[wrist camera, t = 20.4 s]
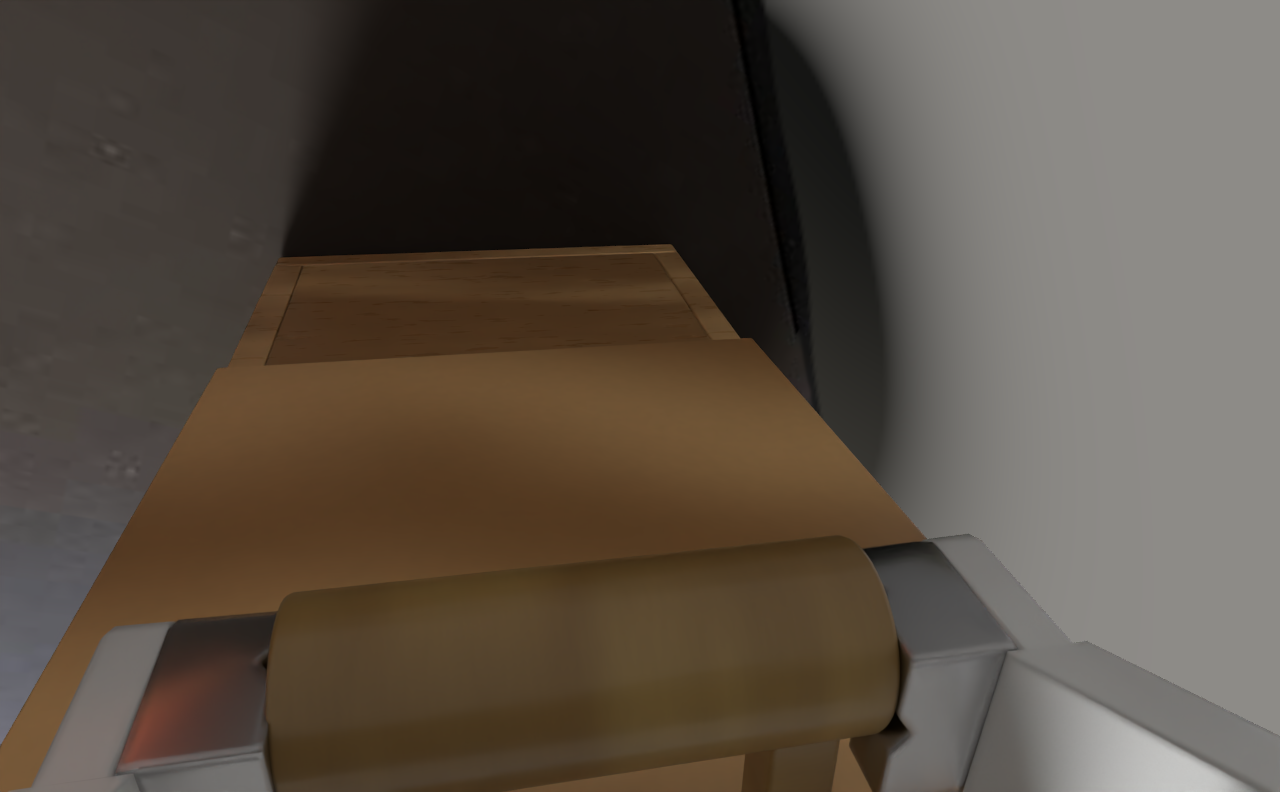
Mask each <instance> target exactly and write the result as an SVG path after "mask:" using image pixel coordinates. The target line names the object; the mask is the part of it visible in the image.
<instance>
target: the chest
mask: <svg viewBox="0 0 1280 792" xmlns="http://www.w3.org/2000/svg"><path fill="white" fill-rule="evenodd" d="M723 339H740V337H739V336H738V334H737V333H736V332H735V330H734V329H733V328H732V326H731V325H730V323H729V322H728V321H727V319H726V318H725V317H724V315H723V314H722V313H721V311H720V310H719V308H718V307H717V306H716V304H715V303H714V302H713V300H712V299H711V298H710V296H709V295H708V293H707V292H706V291H705V289H704V288H703V287H702V285H701V284H700V282H699V281H698V280H697V278H696V277H695V276H694V274H693V273H692V272H691V270H690V269H689V267H688V266H687V265H686V263H685V262H684V261H683V259H682V258H681V256H680V255H679V254H678V253H677V251H676V250H675V248H674V247H673V246H672V245H671V244H662V245H633V246H603V247H574V248H545V249H516V250H486V251H457V252H428V253H398V254H369V255H340V256H311V257H281V258H279V259H278V261H277V264H276V266H275V267H274V269H273V271H272V273H271V275H270V277H269V280H268V282H267V284H266V286H265V288H264V290H263V292H262V295H261V297H260V299H259V301H258V303H257V305H256V307H255V310H254V312H253V314H252V316H251V318H250V320H249V322H248V325H247V327H246V329H245V331H244V333H243V335H242V337H241V339H240V342H239V344H238V346H237V348H236V350H235V352H234V354H233V357H232V359H231V361H230V363H229V365H228V367H227V368H230V367H248V366H265V365H283V364H300V363H318V362H336V361H353V360H371V359H388V358H406V357H424V356H441V355H459V354H476V353H494V352H512V351H529V350H547V349H564V348H582V347H600V346H617V345H635V344H652V343H670V342H688V341H705V340H723Z"/></svg>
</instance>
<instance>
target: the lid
mask: <svg viewBox="0 0 1280 792" xmlns="http://www.w3.org/2000/svg"><path fill="white" fill-rule="evenodd" d="M925 539H927V538H926V537H925V536H924V535H923V534H922V533H921V531H920V530H919V529H918V528H917V527H916V526H915V525H914V523H913V522H912V521H911V520H910V519H909V518H908V517H907V515H906V514H905V513H904V512H903V511H902V510H901V509H900V508H899V506H898V505H897V504H896V503H895V502H894V501H893V499H892V498H891V497H890V496H889V495H888V494H887V493H886V491H885V490H884V489H883V488H882V487H881V486H880V484H879V483H878V482H877V481H876V480H875V479H874V478H873V476H872V475H871V474H870V473H869V472H868V471H867V470H866V468H865V467H864V466H863V465H862V464H861V463H860V462H859V460H857V458H856V457H855V456H854V455H853V454H852V452H851V451H850V450H849V449H848V448H847V447H846V446H845V444H844V443H843V442H842V441H841V440H840V439H839V438H838V436H837V435H836V434H835V433H834V432H833V431H832V429H831V428H830V427H829V426H828V425H827V424H826V423H825V421H824V420H823V419H822V418H821V417H820V416H819V415H818V413H817V412H816V411H815V410H814V409H813V408H812V407H811V405H810V404H809V403H808V402H807V401H806V400H805V399H804V397H803V396H802V395H801V394H800V393H799V392H798V391H797V389H796V388H795V387H794V386H793V385H792V384H791V383H790V381H789V380H788V379H787V378H786V377H785V376H784V375H783V373H782V372H781V371H780V370H779V369H778V368H777V366H776V365H775V364H774V363H773V362H772V361H771V360H770V358H769V357H768V356H767V355H766V354H765V353H764V352H763V350H762V349H761V348H760V347H759V346H758V345H757V344H756V342H755V341H754V340H753V339H752V338H740V339H723V340H705V341H688V342H670V343H652V344H635V345H617V346H600V347H582V348H564V349H547V350H529V351H512V352H494V353H476V354H459V355H441V356H424V357H406V358H388V359H371V360H353V361H336V362H318V363H300V364H283V365H265V366H248V367H230V368H218V369H216V371H215V373H214V375H213V376H212V378H211V380H210V382H209V383H208V385H207V387H206V389H205V390H204V392H203V394H202V396H201V397H200V399H199V401H198V403H197V404H196V406H195V408H194V410H193V411H192V413H191V415H190V417H189V418H188V420H187V422H186V424H185V425H184V427H183V429H182V430H181V432H180V434H179V436H178V437H177V439H176V441H175V443H174V444H173V446H172V448H171V450H170V451H169V453H168V455H167V457H166V458H165V460H164V462H163V464H162V465H161V467H160V469H159V471H158V472H157V474H156V476H155V478H154V479H153V481H152V483H151V485H150V486H149V488H148V490H147V491H146V493H145V495H144V497H143V498H142V500H141V502H140V504H139V505H138V507H137V509H136V511H135V512H134V514H133V516H132V518H131V519H130V521H129V523H128V525H127V526H126V528H125V530H124V532H123V533H122V535H121V537H120V539H119V540H118V542H117V544H116V545H115V547H114V549H113V551H112V552H111V554H110V556H109V558H108V559H107V561H106V563H105V565H104V566H103V568H102V570H101V572H100V573H99V575H98V577H97V579H96V580H95V582H94V584H93V586H92V587H91V589H90V591H89V593H88V594H87V596H86V598H85V600H84V601H83V603H82V605H81V606H80V608H79V610H78V612H77V613H76V615H75V617H74V619H73V620H72V622H71V624H70V626H69V627H68V629H67V631H66V633H65V634H64V636H63V638H62V640H61V641H60V643H59V645H58V647H57V648H56V650H55V652H54V654H53V655H52V657H51V659H50V661H49V662H48V664H47V666H46V667H45V669H44V671H43V673H42V674H41V676H40V678H39V680H38V681H37V683H36V685H35V687H34V688H33V690H32V692H31V694H30V695H29V697H28V699H27V701H26V702H25V704H24V706H23V708H22V709H21V711H20V713H19V715H18V716H17V718H16V720H15V722H14V723H13V725H12V727H11V728H10V730H9V732H8V734H7V735H6V737H5V739H4V741H3V742H2V744H1V746H0V792H8V791H11V790H18V789H24V788H31V786H32V784H33V781H34V779H35V777H36V775H37V773H38V771H39V769H40V767H41V764H42V762H43V760H44V758H45V756H46V754H47V752H48V750H49V747H50V745H51V743H52V741H53V739H54V737H55V735H56V733H57V731H58V728H59V726H60V724H61V722H62V720H63V718H64V716H65V714H66V711H67V709H68V707H69V705H70V703H71V701H72V699H73V697H74V694H75V692H76V690H77V688H78V686H79V684H80V682H81V680H82V678H83V675H84V673H85V671H86V669H87V667H88V665H89V663H90V661H91V658H92V656H93V654H94V652H95V650H96V648H97V646H98V644H99V641H100V640H101V639H102V637H103V636H104V635H105V634H107V633H108V632H109V631H110V630H111V629H112V628H114V627H115V626H125V625H136V624H147V623H158V622H176V621H177V620H181V619H193V618H204V617H216V616H227V615H239V614H250V613H262V612H273V611H278V612H277V615H276V618H275V621H274V625H273V629H272V634H271V640H270V646H269V654H268V663H267V675H266V700H265V717H266V721H267V722H268V731H269V748H270V759H271V768H272V774H273V781H274V786H275V791H276V792H872V790H871V788H870V786H869V784H868V782H867V780H866V779H865V777H864V775H863V773H862V771H861V769H860V767H859V765H858V763H857V761H856V759H855V757H854V755H853V753H852V751H851V749H850V747H849V742H850V738H854V737H860V736H867V735H873V734H877V733H879V732H880V731H882V730H883V729H884V728H885V727H886V726H887V725H888V724H889V723H890V721H891V719H892V717H893V715H894V713H895V710H896V706H897V702H898V696H899V688H900V657H899V647H898V639H897V633H896V628H895V623H894V619H893V614H892V610H891V607H890V604H889V600H888V597H887V594H886V591H885V589H884V586H883V584H882V581H881V579H880V577H879V575H878V572H877V571H876V569H875V567H874V565H873V563H872V561H871V560H870V559H869V557H868V556H867V554H866V553H865V552H864V550H863V549H862V548H865V547H873V546H882V545H890V544H899V543H908V542H921V541H923V540H925Z"/></svg>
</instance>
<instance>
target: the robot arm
mask: <svg viewBox="0 0 1280 792" xmlns="http://www.w3.org/2000/svg"><path fill="white" fill-rule="evenodd" d="M862 549H863V550H864V552H865V553H866V554H867V556H868V557H869V559H870V560H871V561H872V563H873V565H874V567H875V569H876V571H877V572H878V575H879V577H880V579H881V581H882V584H883V586H884V589H885V591H886V594H887V597H888V600H889V604H890V607H891V610H892V614H893V619H894V623H895V628H896V633H897V639H898V647H899V657H900V688H899V696H898V702H897V706H896V710H895V713H894V715H893V717H892V719H891V721H890V723H889V724H888V725H887V726H886V727H885V728H884V729H883V730H882V731H880V732H879V733H877V734H873V735H867V736H860V737H854V738H850V742H849V747H850V749H851V751H852V753H853V755H854V757H855V759H856V761H857V763H858V765H859V767H860V769H861V771H862V773H863V775H864V777H865V779H866V780H867V782H868V784H869V786H870V788H871V790H872V792H1280V736H1278V735H1277V734H1274V733H1273V732H1270V731H1268V730H1267V729H1264V728H1262V727H1260V726H1258V725H1256V724H1254V723H1252V722H1250V721H1248V720H1246V719H1244V718H1242V717H1240V716H1238V715H1236V714H1234V713H1232V712H1230V711H1228V710H1226V709H1224V708H1221V707H1220V706H1218V705H1216V704H1214V703H1212V702H1209V701H1207V700H1206V699H1204V698H1201V697H1199V696H1197V695H1195V694H1193V693H1191V692H1189V691H1187V690H1185V689H1183V688H1181V687H1179V686H1177V685H1175V684H1173V683H1171V682H1169V681H1167V680H1165V679H1163V678H1161V677H1159V676H1157V675H1155V674H1153V673H1151V672H1149V671H1147V670H1145V669H1142V668H1141V667H1138V666H1136V665H1134V664H1132V663H1130V662H1128V661H1126V660H1124V659H1122V658H1120V657H1118V656H1116V655H1114V654H1112V653H1110V652H1108V651H1106V650H1104V649H1102V648H1100V647H1098V646H1096V645H1093V644H1092V643H1090V642H1088V641H1084V642H1076V643H1072V642H1071V641H1070V639H1069V638H1068V637H1067V636H1066V635H1065V634H1064V633H1063V632H1062V630H1061V629H1060V628H1059V627H1058V626H1057V625H1056V624H1055V623H1054V621H1053V620H1052V619H1051V618H1050V617H1049V616H1048V615H1047V614H1046V612H1045V611H1044V610H1043V609H1042V608H1041V607H1040V606H1039V605H1038V604H1037V602H1036V601H1035V600H1034V599H1033V598H1032V597H1031V596H1030V594H1029V593H1028V592H1027V591H1026V590H1025V589H1024V588H1023V587H1022V586H1021V585H1020V583H1019V582H1018V581H1017V580H1016V579H1015V578H1014V577H1013V575H1012V574H1011V573H1010V572H1009V571H1008V570H1007V569H1006V568H1005V566H1004V565H1003V564H1002V563H1001V562H1000V561H999V560H998V559H997V558H996V556H995V555H994V554H993V553H992V552H991V551H990V550H989V549H988V547H987V546H986V545H985V544H984V543H983V542H982V541H981V540H979V539H978V538H976V537H974V536H972V535H970V534H963V535H956V536H948V537H940V538H933V539H925V540H923V541H921V542H908V543H899V544H890V545H882V546H873V547H865V548H862ZM277 612H278V611H273V612H262V613H250V614H239V615H227V616H216V617H204V618H193V619H181V620H177V621H176V622H158V623H147V624H136V625H125V626H115V627H114V628H112V629H111V630H110V631H109V632H108V633H107V634H105V635H104V636H103V637H102V639H101V640H100V641H99V644H98V646H97V648H96V650H95V652H94V654H93V656H92V658H91V661H90V663H89V665H88V667H87V669H86V671H85V673H84V675H83V678H82V680H81V682H80V684H79V686H78V688H77V690H76V692H75V694H74V697H73V699H72V701H71V703H70V705H69V707H68V709H67V711H66V714H65V716H64V718H63V720H62V722H61V724H60V726H59V728H58V731H57V733H56V735H55V737H54V739H53V741H52V743H51V745H50V747H49V750H48V752H47V754H46V756H45V758H44V760H43V762H42V764H41V767H40V769H39V771H38V773H37V775H36V777H35V779H34V781H33V784H32V786H31V788H24V789H18V790H11V791H8V792H276V791H275V786H274V781H273V774H272V768H271V759H270V748H269V731H268V722H267V721H266V717H265V700H266V675H267V663H268V654H269V646H270V640H271V634H272V629H273V625H274V621H275V618H276V615H277Z"/></svg>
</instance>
